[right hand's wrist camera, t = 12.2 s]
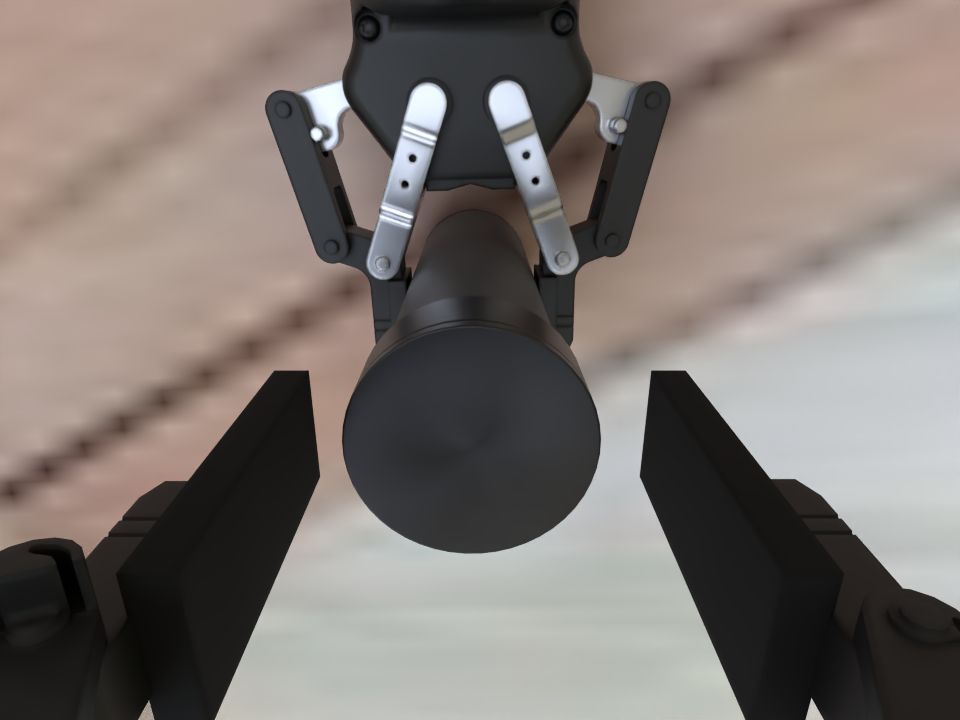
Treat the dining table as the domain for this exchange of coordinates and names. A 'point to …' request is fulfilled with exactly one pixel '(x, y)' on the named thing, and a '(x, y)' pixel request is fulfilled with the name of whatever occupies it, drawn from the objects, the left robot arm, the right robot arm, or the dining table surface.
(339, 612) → the dining table surface
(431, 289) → the jar
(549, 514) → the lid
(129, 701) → the right robot arm
